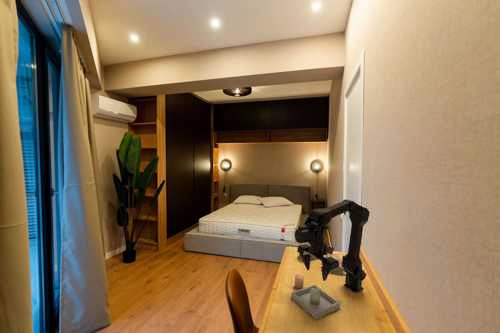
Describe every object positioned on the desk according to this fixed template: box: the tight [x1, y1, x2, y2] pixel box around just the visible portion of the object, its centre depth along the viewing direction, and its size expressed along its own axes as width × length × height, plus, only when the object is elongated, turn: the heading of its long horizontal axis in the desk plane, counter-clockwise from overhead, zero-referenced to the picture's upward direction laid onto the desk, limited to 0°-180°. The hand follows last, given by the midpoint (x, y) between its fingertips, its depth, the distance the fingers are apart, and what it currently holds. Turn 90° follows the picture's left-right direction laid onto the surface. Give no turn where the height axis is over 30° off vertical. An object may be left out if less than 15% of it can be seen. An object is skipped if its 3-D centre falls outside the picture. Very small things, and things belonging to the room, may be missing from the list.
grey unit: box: [296, 242, 318, 263], centre depth 131 cm, size 6×15×9 cm, turn 119°
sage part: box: [310, 288, 320, 305], centre depth 89 cm, size 4×4×5 cm
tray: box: [290, 284, 341, 321], centre depth 89 cm, size 14×14×3 cm
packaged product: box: [325, 253, 346, 277], centre depth 122 cm, size 18×5×10 cm
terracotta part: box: [294, 273, 305, 290], centre depth 101 cm, size 4×4×5 cm
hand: (315, 275), depth 92 cm, fingers open, 9 cm apart
